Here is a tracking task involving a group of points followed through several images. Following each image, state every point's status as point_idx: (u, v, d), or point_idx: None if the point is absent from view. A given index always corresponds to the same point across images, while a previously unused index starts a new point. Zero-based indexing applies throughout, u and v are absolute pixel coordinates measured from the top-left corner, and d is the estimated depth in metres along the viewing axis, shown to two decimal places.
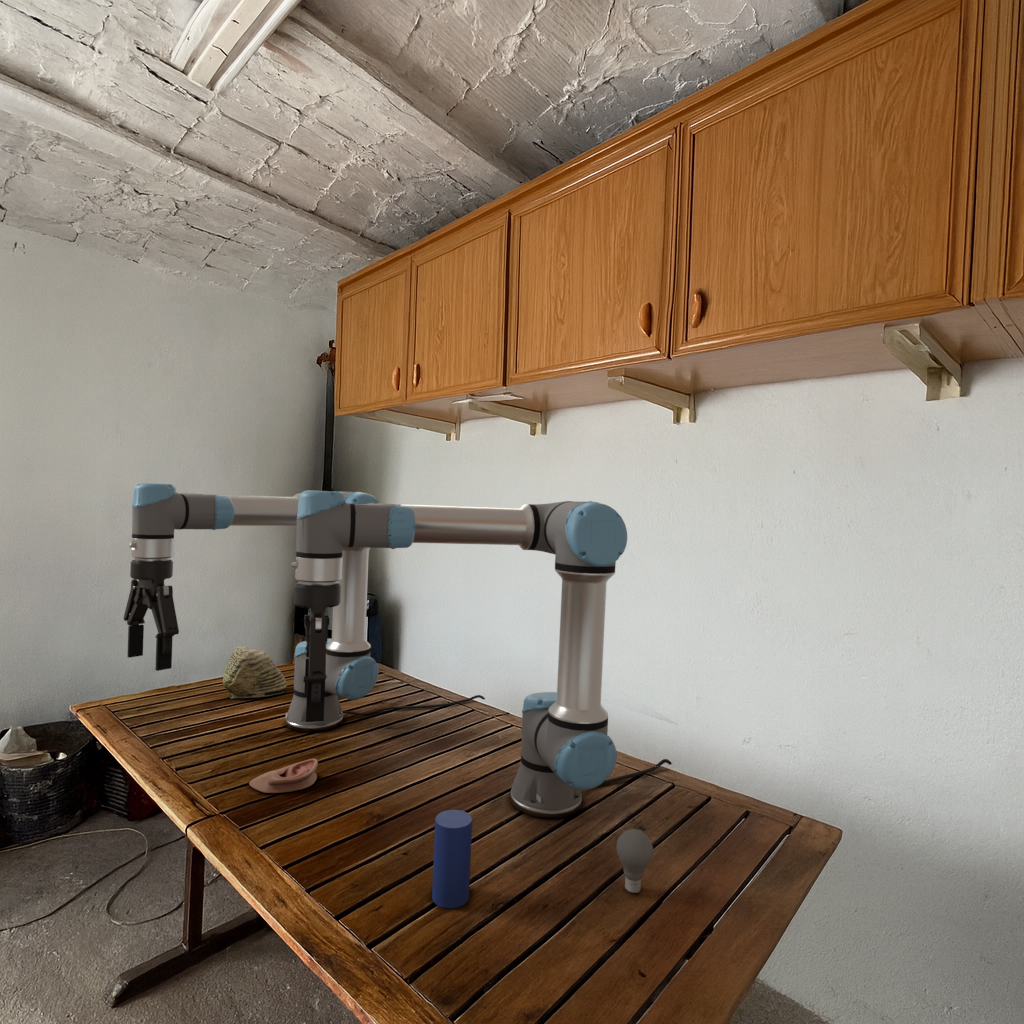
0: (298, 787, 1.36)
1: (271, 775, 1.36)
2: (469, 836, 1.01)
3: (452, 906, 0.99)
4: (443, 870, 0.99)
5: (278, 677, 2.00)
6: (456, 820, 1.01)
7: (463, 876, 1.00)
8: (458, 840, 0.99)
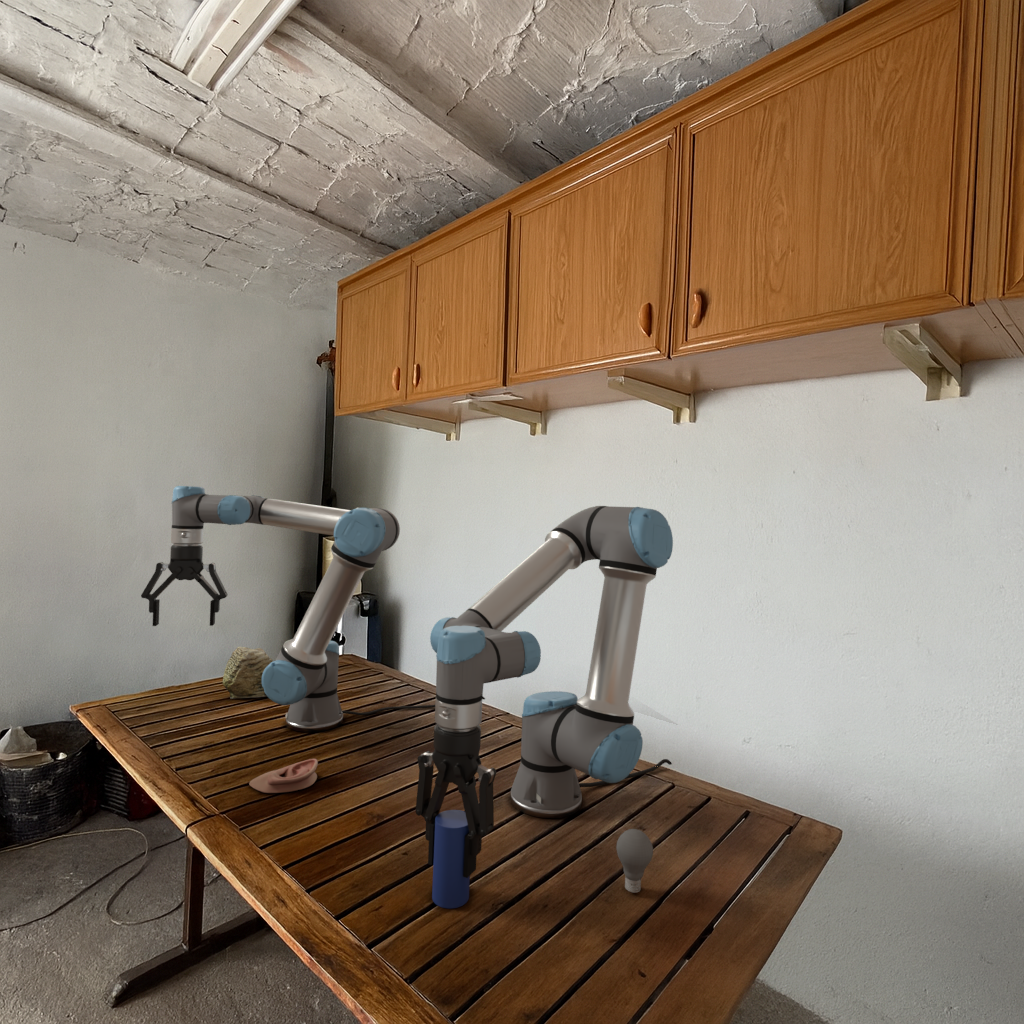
0: (298, 787, 1.36)
1: (271, 775, 1.36)
2: None
3: (452, 906, 0.99)
4: (443, 870, 0.99)
5: None
6: (456, 820, 1.01)
7: None
8: (458, 840, 0.99)
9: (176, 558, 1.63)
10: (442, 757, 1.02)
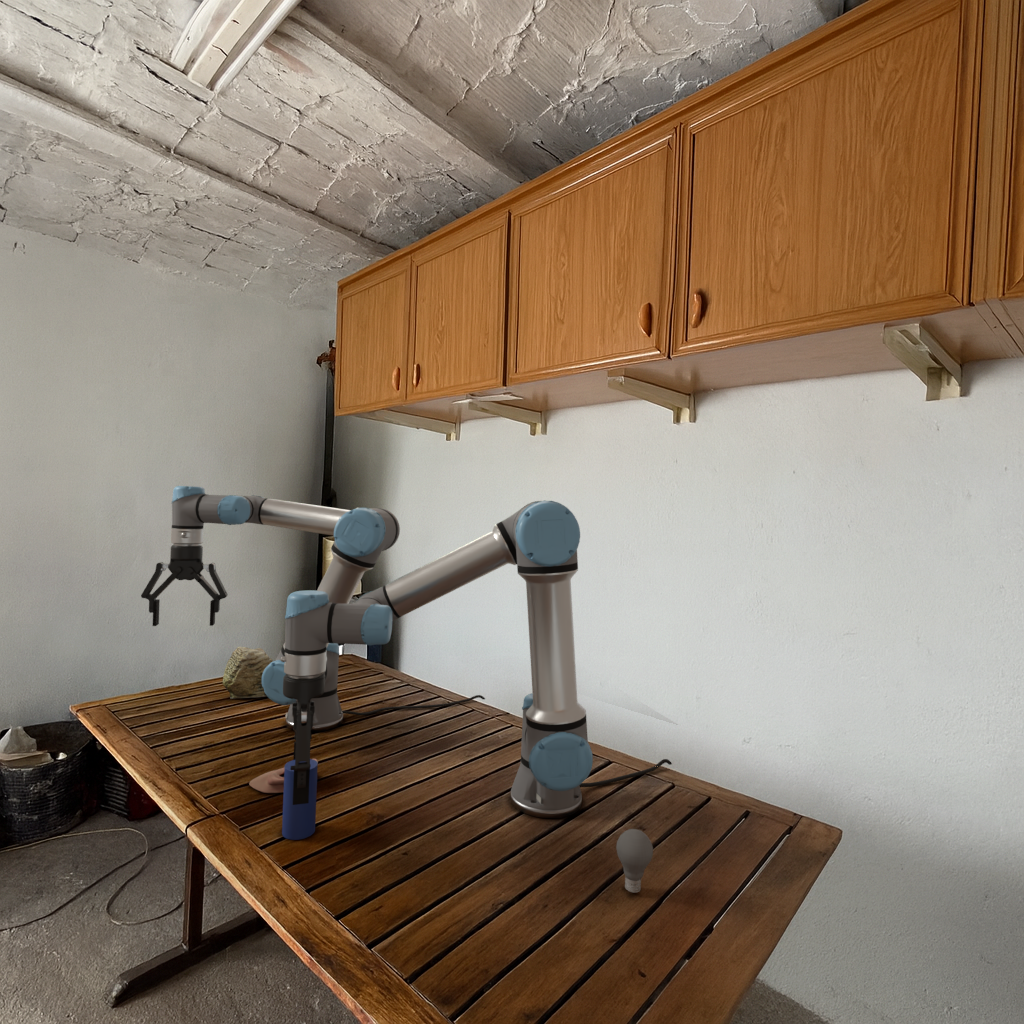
0: None
1: (271, 775, 1.36)
2: None
3: (285, 836, 1.17)
4: (283, 803, 1.18)
5: None
6: None
7: (294, 814, 1.17)
8: (289, 781, 1.17)
9: (176, 558, 1.63)
10: None
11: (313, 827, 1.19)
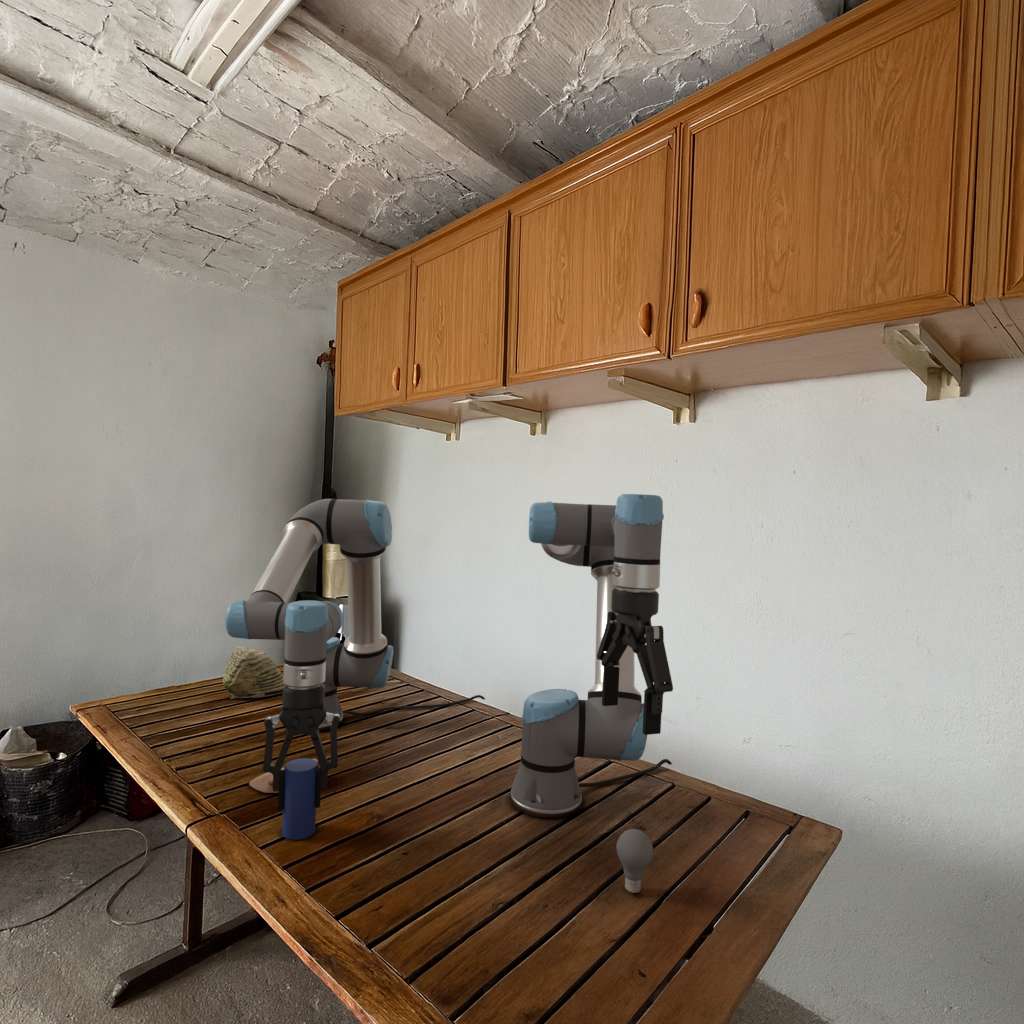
0: None
1: (271, 775, 1.36)
2: (301, 782, 1.17)
3: (285, 836, 1.17)
4: (283, 803, 1.18)
5: (278, 677, 2.00)
6: (299, 766, 1.19)
7: (294, 814, 1.17)
8: (289, 781, 1.17)
9: (293, 708, 1.16)
10: (621, 620, 1.05)
11: (313, 827, 1.19)
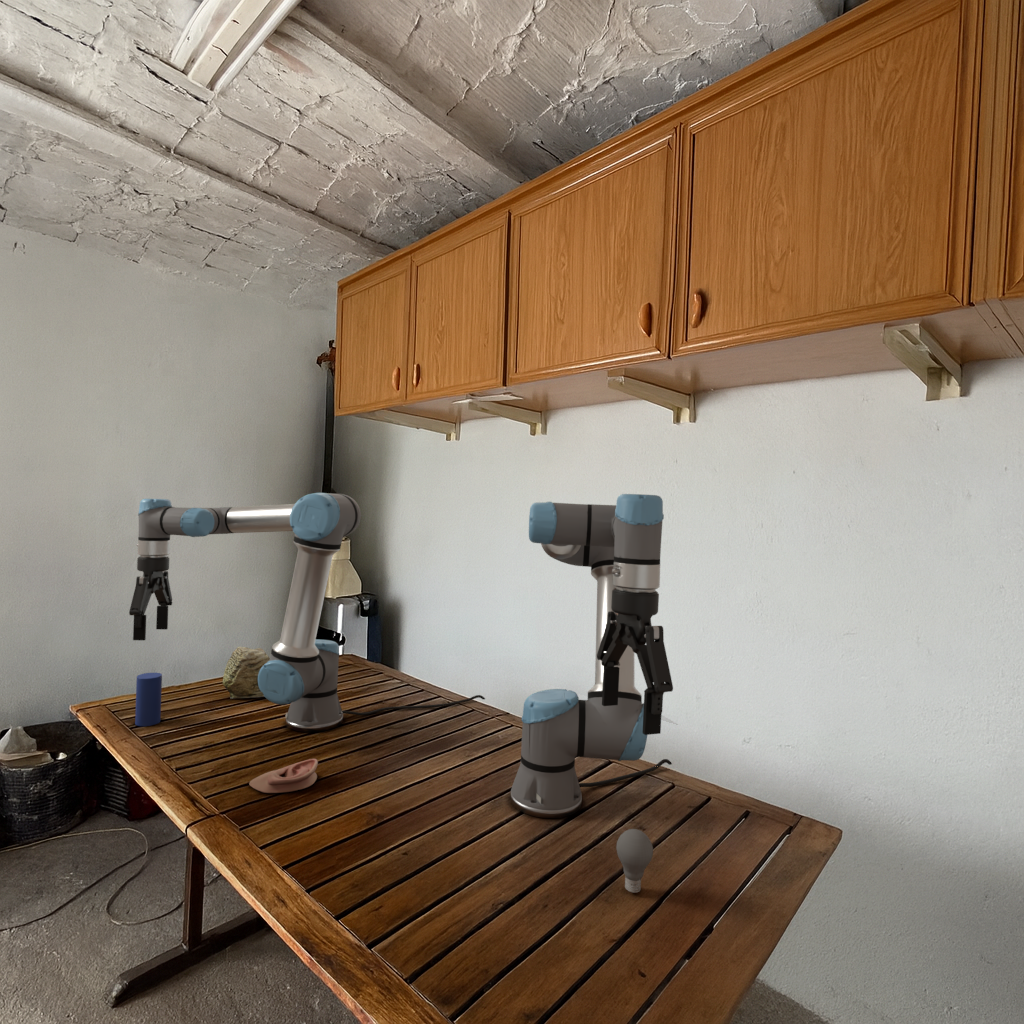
0: (298, 787, 1.36)
1: (271, 775, 1.36)
2: None
3: None
4: None
5: None
6: (147, 675, 1.71)
7: None
8: None
9: None
10: (621, 620, 1.05)
11: (138, 721, 1.68)
